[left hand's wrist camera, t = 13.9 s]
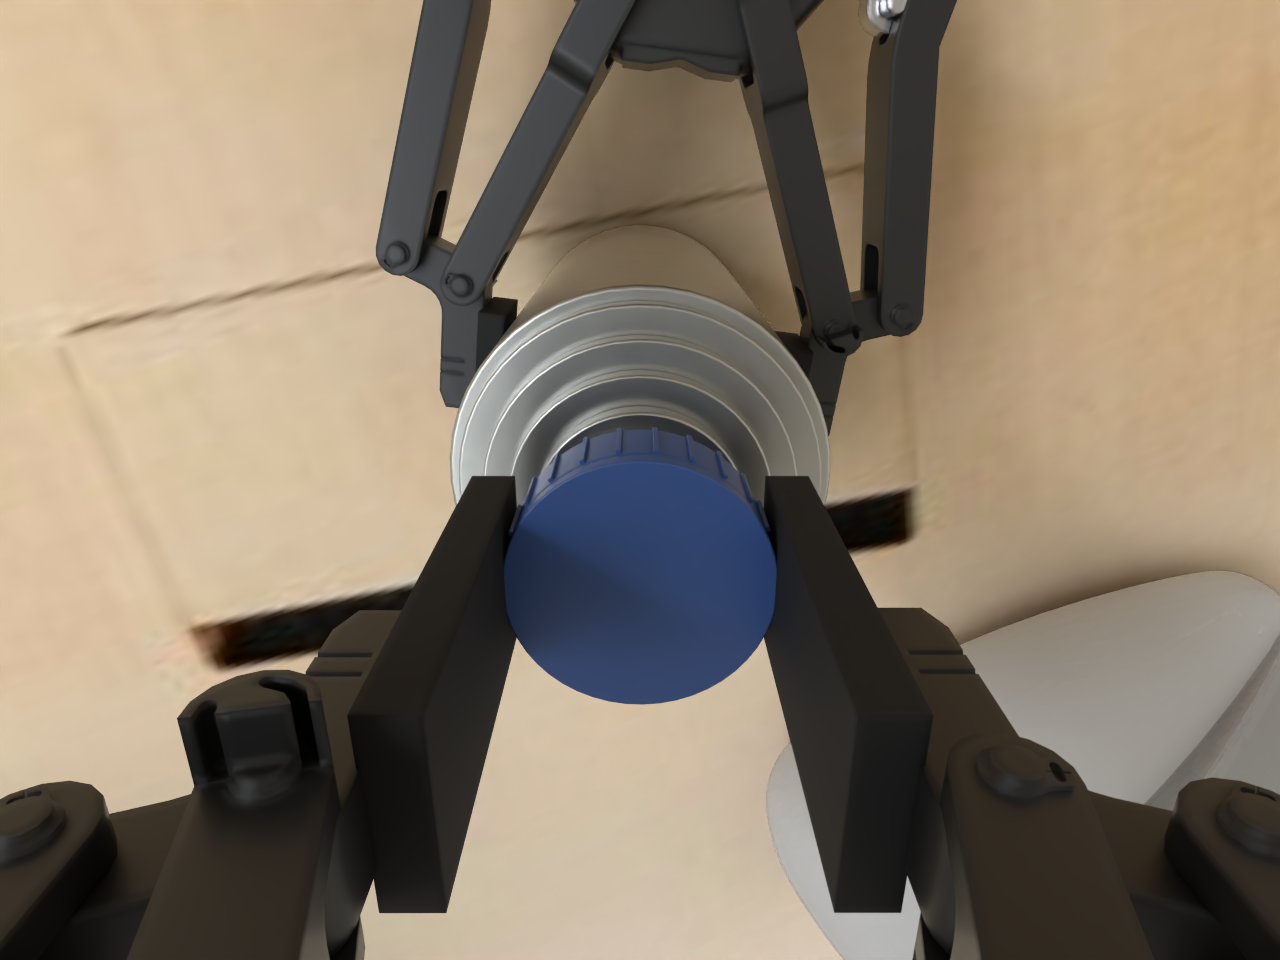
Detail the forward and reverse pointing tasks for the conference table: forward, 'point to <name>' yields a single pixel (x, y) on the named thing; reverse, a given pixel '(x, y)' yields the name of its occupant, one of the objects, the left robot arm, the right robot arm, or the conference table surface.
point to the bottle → (640, 368)
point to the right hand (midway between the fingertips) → (623, 516)
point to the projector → (1096, 715)
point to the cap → (640, 568)
